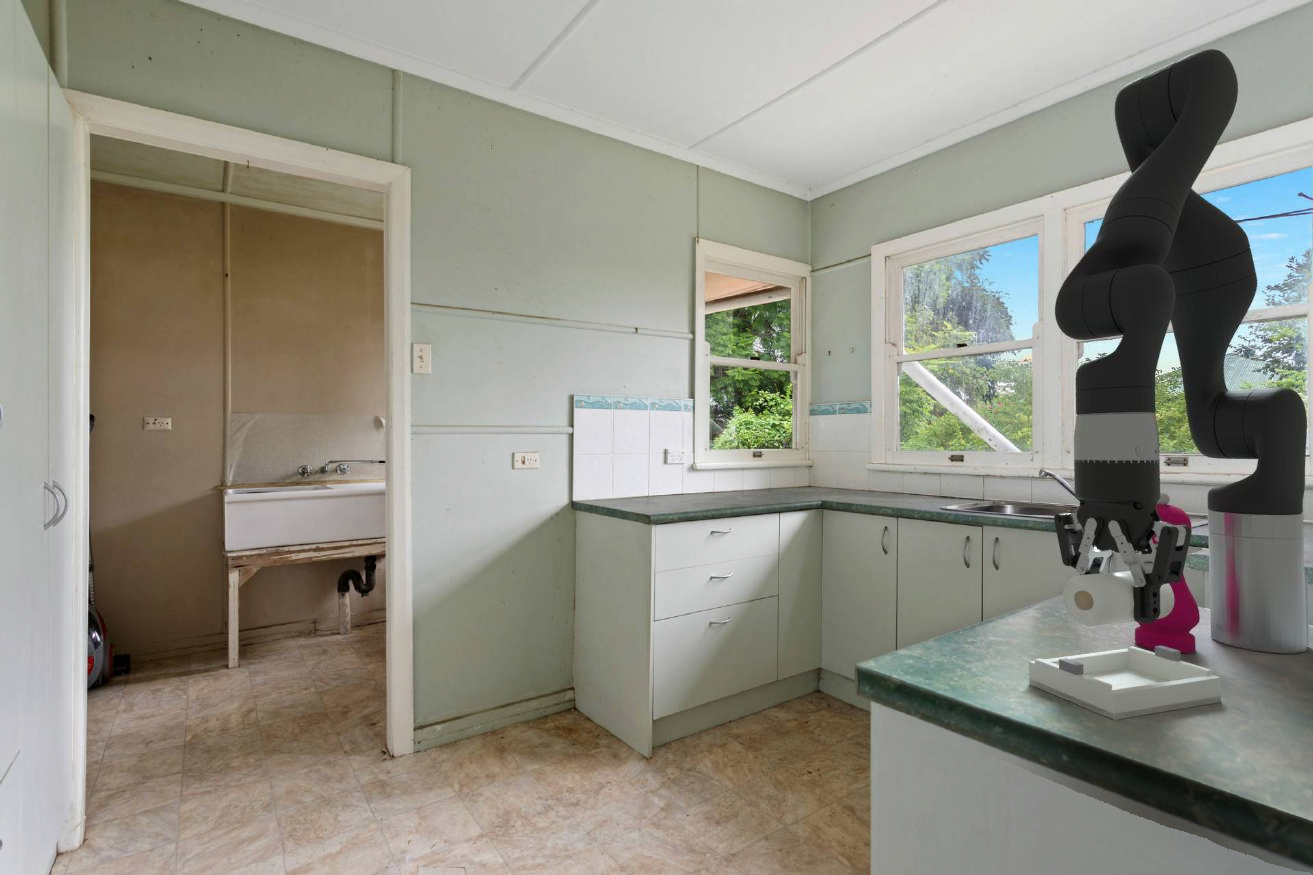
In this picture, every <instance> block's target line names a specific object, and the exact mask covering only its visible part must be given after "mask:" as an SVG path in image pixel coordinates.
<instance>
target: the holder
mask: <svg viewBox="0 0 1313 875" xmlns="http://www.w3.org/2000/svg"><path fill="white" fill-rule="evenodd" d="M1028 677H1029V678H1028V679H1029V680H1028V682H1029V685H1030V686H1033V687H1035V688H1038V689H1039V690H1040V689H1041V690H1043V691H1045V692H1046V693H1049V694H1051V695H1054V696H1057V697H1059V698H1061V699H1064V700H1066V701H1069V703H1073V704H1075V705H1078V706H1080V707H1083V708H1085V709H1087V710H1090V711H1092V712H1094V713H1096V714H1099V715H1101V716H1104V717H1106V718H1108V719H1110V720H1113V721H1118V720H1122V719H1128V718H1129V719H1130V718H1134V717H1135V718H1136V717H1141V716H1146V715H1152V714H1153V715H1154V714H1158V713H1159V714H1160V713H1164V712H1169V711H1176V710H1182V709H1189V708H1193V707H1200V706H1205V705H1211V704H1216V703H1221V702H1222V686H1221V684H1222V683H1221V682H1222V681H1221V677H1220V676H1217V675H1214V674H1213V670H1212V669H1210V668H1207V667H1203V666H1200V665H1196V664H1193V663H1191V662H1186V661H1183V660H1181V653H1180V651H1179V650H1175V649H1172V648H1168V647H1165V646H1155V650H1154V652H1153V651H1152V650H1151V651H1150V650H1146V649H1143V648H1141V647H1138V646H1133V645H1132V646H1128V647H1127V648H1120V649H1114V650H1113V649H1111V650H1106V651H1097V652H1090V653H1083V654H1076V655H1067V656H1061V657H1051V658H1046V659H1045V658H1035V659H1034V660H1030V661H1028Z"/></svg>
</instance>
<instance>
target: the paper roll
mask: <svg viewBox="0 0 1313 875" xmlns="http://www.w3.org/2000/svg"><path fill="white" fill-rule="evenodd" d="M1133 586H1137V585H1136V584H1135V582H1134V580H1133V577H1132V574H1131V571H1130V570H1128V571H1126V570H1125V571H1115V572H1114V571H1113V572H1103V573H1102V572H1101V573H1100V574H1088V575H1080V574H1078V575H1074V576H1072V577H1070V578H1069V579H1068V580H1067V581H1066V583H1065V584H1064V587H1063V592H1062V593H1063V594H1062V596H1063V602H1064V606H1065V608H1066V610H1067V612H1068V613H1069V615H1070V616H1071V617H1072V618H1073V619H1074V620H1075V621H1077V623H1078V624H1081V625H1083V626H1087V627H1095V626H1103V625H1104V626H1105V625H1106V626H1107V625H1114V624H1122V623H1131V622H1136V621H1135V620H1134V599H1133ZM1173 606H1174V594H1173V590H1172V588H1171V586H1170V585H1169V584H1164V585H1162V586H1161V588H1160V616H1159V618H1156V619H1160V618H1164V617H1166V616H1167V615H1168V614H1169V613H1170V612H1171V611H1172V609H1173Z"/></svg>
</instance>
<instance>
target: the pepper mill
mask: <svg viewBox="0 0 1313 875" xmlns="http://www.w3.org/2000/svg"><path fill="white" fill-rule="evenodd" d="M1170 500H1171V498H1170V495H1168V494H1167V493H1165V492H1164V491H1163V492H1162V491H1160V499H1159V500H1158V502H1157V505H1156V509H1157V512H1158V514H1159V516H1160V518H1161V521H1163V522H1166V523H1170V524H1173V525H1187V526H1189V527H1190V528H1191V529H1192V520H1191V518H1190V516H1189V515H1188V514H1187V512H1186V511H1185V510H1183V509H1182V508H1179V507H1177V506H1175V505H1171V504H1169V503H1170ZM1155 537H1157V535H1156V534H1155V535H1154V536H1153V537H1152V541H1153V544H1154V546H1155V549H1156V551H1157V546H1158V542H1157V541H1155ZM1140 552H1141V551H1139V553H1140ZM1141 553H1142V552H1141ZM1169 585H1170V586H1171V588H1172V590H1173V594H1174V606H1173V609H1172V611H1171V612H1170V613H1169V614H1168V615H1167V616H1166V617H1164V618H1160V619H1156V621H1155V622H1153V623H1145V624H1143V623H1139V622H1136V623H1137V624H1138V625H1139V626H1137V627H1136V628H1134V642H1135V643H1136V644H1137V645H1139V646H1140V647H1142V648H1146V649H1148V650H1151V651H1152V650H1153V651H1155V646H1165V647H1168V648H1172V649H1175V650H1179V651H1180V654H1189V653H1193V652H1195V651H1196V636H1195V635H1194V634H1192V633H1191V631H1192V630H1193V629H1194V628H1195V627H1197V626H1198V624H1199V622H1200V619H1201V615H1200V609H1199V606H1198V603H1197V601H1196V599H1195V598H1194V595H1193V594H1192V591H1191V590H1190V588H1189V586H1188V584H1187V582H1186V578H1185V575H1184V573H1183V574H1182V579H1181V581H1180V582H1176V583H1169Z"/></svg>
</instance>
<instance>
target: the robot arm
mask: <svg viewBox="0 0 1313 875" xmlns="http://www.w3.org/2000/svg"><path fill="white" fill-rule="evenodd" d="M1238 96H1239V83H1238V77H1237V73H1236V70H1235V67H1234V65H1233V63H1232V62H1231V60H1230V58H1229V57H1228V56H1227V55H1226V54H1225V52H1222V51H1221V50H1219V49H1214V48H1208V49H1204V50H1201V51H1197V52H1194V53H1191V54H1189V55H1186V56H1183V57H1182V58H1180V59H1178V60H1175V61H1174V62H1172V63H1169V64H1167V65H1165V66H1162V67H1160V68H1159V69H1156V70H1154V71H1151V72H1150V73H1147V74H1145V75H1143V76H1141V77H1139V78H1137V79H1134V80H1133V81H1131V82H1129V83H1127V84H1126V85H1124V86H1123V87H1121V88H1120V90H1119V91H1118V92H1117V95H1116V97H1115V101H1114V120H1115V126H1116V130H1117V134H1118V138H1119V141H1120V145H1121V147H1122V150H1123V153H1124V156H1125V159H1126V161H1127V164H1128V167H1129V171H1130V172H1131V174H1130V175H1129V177H1127V179H1125V181H1123V183H1122V184H1121V186H1120V187H1119V188H1118V189H1117V191H1116V192H1115V193H1114V195H1113V197H1112V198H1111V200H1110V202H1109V204H1108V206H1107V208H1106V211H1105V213H1104V216H1103V218H1102V222H1101V225H1100V227H1099V230H1098V233H1097V236H1096V239H1095V242H1094V243H1093V244H1092V245H1091V246H1090V247H1089V248H1088V249H1087V250H1086V252H1085V253H1084V254H1083V256H1082V257H1081V258H1080V260H1079V261H1078V262H1077V263H1076V265H1075V266H1074V267H1073V269H1072V270H1071V271H1070V273H1069V274H1068V276H1066V278H1065V280H1064V281H1063V283H1062V284H1061V286H1060V289H1059V290H1058V292H1057V296H1056V300H1055V305H1054V317H1055V321H1056V323H1057V326H1058V328H1059V330H1061V332H1062V333H1063V335H1065V336H1067V337H1069V338H1071V339H1073V340H1078V341H1089V340H1098V339H1105V338H1111V337H1112V338H1113V337H1119V336H1120V337H1121V336H1122V337H1121V340H1120V342H1119V344H1118V346H1117V347H1116V349H1115V350H1114V351H1112V352H1111V353H1109V354H1108V355H1105V356H1103V357H1098V358H1096V359H1094V360H1093V359H1092V360H1090V361H1088V362H1084V363H1082V364H1081V365H1080V366H1079V367H1078V368H1077V370H1076V373H1075V415H1076V416H1075V424H1074V431H1073V464H1074V465H1073V467H1074V470H1073V471H1074V474H1073V475H1074V478H1073V479H1074V481H1073V482H1074V496H1075V497H1076V498H1077V499H1078V500H1079V506H1078V509H1077V510H1076V512H1074V513H1073V512H1072V513H1070V512H1066V513H1064V512H1063V513H1056V514H1055V515H1054V516H1053V522H1054V526H1055V531H1056V536H1057V540H1058V546H1059V551H1060V556H1061V561H1062V564H1063V565H1064V566H1066V567H1071V568H1073V569H1075V570H1076V572H1077V573H1078V575H1088V574H1100V573H1102V572H1103V570H1104V567H1105V565H1106V561H1107V559H1108V558H1109V557H1111V555H1112V554H1113V552H1115V553H1116V554H1117V553H1118V554H1120V558H1121V560H1122V562H1123V563H1124V564H1125V565H1126V566H1128V569H1129V571H1131V574H1132V577H1133V580H1134V582H1135V584H1136V585H1137V586H1133V599H1134V620H1135V621H1134V622H1136V623H1137V622H1139V623H1143V624H1145V623H1153V622H1155V621H1156V618H1159V616H1160V588H1161V586H1162V585H1164V584H1169V583H1176V582H1180V581H1181V579H1182V574H1183V575H1184V570H1185V565H1186V560H1187V556H1188V552H1189V547H1190V542H1191V538H1192V532H1193V531H1192V527H1191V528H1190V527H1189V526H1187V525H1173V524H1170V523H1166V522H1163V521H1161V518H1160V516H1159V514H1158V512H1157V509H1156V505H1157V502H1158V500H1159V499H1160V492H1161V473H1160V472H1161V469H1160V468H1161V466H1160V460H1161V458H1160V435H1159V428H1158V423H1157V416H1156V410H1157V409H1156V374H1157V373H1156V372H1157V368H1158V363H1159V360H1160V355H1161V353H1162V352H1161V351H1162V348H1163V343H1164V340H1165V337H1166V335H1167V332H1168V330H1169V329H1168V328H1169V326H1170V324H1171V327H1172V331H1173V336H1174V340H1175V344H1176V349H1177V353H1178V354H1177V355H1178V359H1179V364H1180V370H1181V378H1182V387H1183V395H1184V402H1185V410H1186V416H1187V423H1188V428H1189V432H1190V435H1191V438H1192V442H1193V444H1194V445H1195V447H1196V449H1197V450H1198V452H1199V453H1200V454H1201V455H1203V456H1205V457H1207V458H1211V459H1218V460H1220V459H1221V460H1223V459H1224V460H1257V464H1256V467H1255V468H1256V469H1255V470H1254V471H1253V473H1252V474H1250V475H1248V476H1246V477H1245V478H1243V479H1241V480H1238V481H1235V482H1232V483H1231V482H1230V483H1228V484H1227V483H1226V484H1223V485H1219V486H1216V487H1212V488H1210V489H1209V491H1208V492H1207V527H1208V528H1207V531H1208V533H1207V534H1208V565H1209V566H1208V568H1209V569H1208V570H1209V572H1208V573H1209V576H1208V577H1209V613H1210V616H1209V618H1210V637H1211V638H1212V639H1213V640H1215V641H1217V642H1220V643H1223V644H1225V645H1229V646H1233V647H1237V648H1242V649H1246V650H1251V651H1258V652H1266V653H1279V654H1298V653H1303V652H1306V651H1307V647H1308V646H1310V626H1309V625H1310V624H1309V591H1308V590H1309V589H1308V588H1309V585H1308V584H1309V583H1308V573H1307V572H1306V571H1305V546H1304V545H1305V544H1304V542H1305V541H1304V517H1303V516H1304V514H1303V512H1304V505H1303V504H1304V503H1303V502H1304V495H1305V486H1306V455H1307V454H1306V452H1307V439H1308V438H1307V437H1308V418H1307V417H1308V416H1307V410H1306V407H1305V406H1306V405H1305V403H1304V400H1303V399H1302V397H1301V395H1300V393H1298V392H1297V391H1295V390H1294V389H1292V388H1289V387H1279V386H1278V387H1263V388H1262V387H1261V388H1247V389H1243V388H1242V389H1233V390H1232V389H1231V390H1229V389H1228V388H1227V384H1226V379H1225V359H1226V356H1227V351H1228V349H1229V347H1230V345H1231V341H1232V340H1233V338H1234V336H1235V334H1236V332H1237V331H1238V330H1239V328H1240V325H1241V324H1242V322H1243V320H1244V319H1245V317H1246V315H1247V313H1248V311H1249V310H1250V307H1251V305H1252V303H1253V301H1254V298H1255V297H1256V293H1257V290H1258V276H1257V272H1256V267H1255V261H1254V259H1253V258H1254V257H1253V254H1252V249H1251V245H1250V241H1249V237H1248V235H1247V233H1246V232H1245V230H1244V229H1243V227H1242V226H1240V224H1239V223H1237V222H1236V221H1235V220H1234V219H1233V218H1232V217H1230V216H1229V215H1228V214H1227V213H1226V212H1224V211H1222V210H1221V209H1220V208H1219V207H1217V206H1216V205H1214V204H1212V203H1211V202H1209V200H1207V199H1206V198H1204V197H1202V195H1200V194H1199V193H1198V192H1196V191H1195V190H1194V189H1193V188H1192V187H1193V185H1194V184H1195V182H1196V180H1197V179H1198V177H1199V176H1200V173H1201V172H1202V171H1203V169H1204V167H1205V165H1206V164H1207V162H1208V160H1209V159H1210V157H1211V155H1212V153H1213V151H1214V150H1215V148H1216V146H1217V144H1218V142H1219V140H1220V138H1222V135H1223V133H1224V132H1225V130H1226V128H1227V127H1228V125H1229V123H1230V121H1231V119H1232V116H1233V115H1234V112H1235V109H1236V105H1237V103H1238ZM1083 532H1084V534H1083ZM1155 534H1156V535H1157V537H1155V541H1157V542H1158V546H1157V551H1156V549H1155V546H1154V544H1153V541H1152V537H1153V536H1154V535H1155ZM1140 551H1141V554H1138V553H1140Z"/></svg>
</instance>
